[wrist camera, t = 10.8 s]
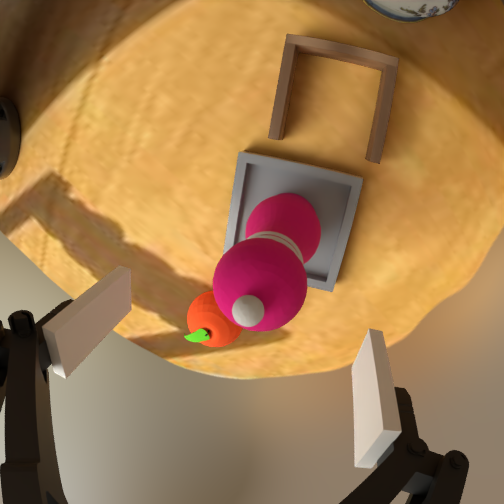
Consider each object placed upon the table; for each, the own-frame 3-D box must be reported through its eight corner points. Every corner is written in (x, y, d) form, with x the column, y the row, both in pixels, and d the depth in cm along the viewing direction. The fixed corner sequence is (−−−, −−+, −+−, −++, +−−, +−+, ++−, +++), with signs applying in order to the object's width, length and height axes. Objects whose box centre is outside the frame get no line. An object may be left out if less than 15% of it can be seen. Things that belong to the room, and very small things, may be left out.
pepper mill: (335, 222, 34) (342, 326, 16) (288, 264, 37) (247, 388, 19) (288, 174, 33) (240, 225, 15) (242, 219, 36) (158, 308, 18)
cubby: (273, 137, 33) (267, 138, 30) (290, 43, 29) (286, 33, 26) (374, 161, 32) (379, 163, 28) (392, 65, 27) (398, 58, 24)
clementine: (210, 335, 44) (192, 367, 38) (183, 295, 43) (160, 323, 36) (259, 317, 41) (247, 350, 35) (232, 272, 40) (213, 300, 33)
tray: (226, 258, 39) (221, 265, 37) (243, 150, 34) (238, 151, 32) (332, 284, 37) (332, 292, 36) (361, 176, 32) (363, 179, 31)
